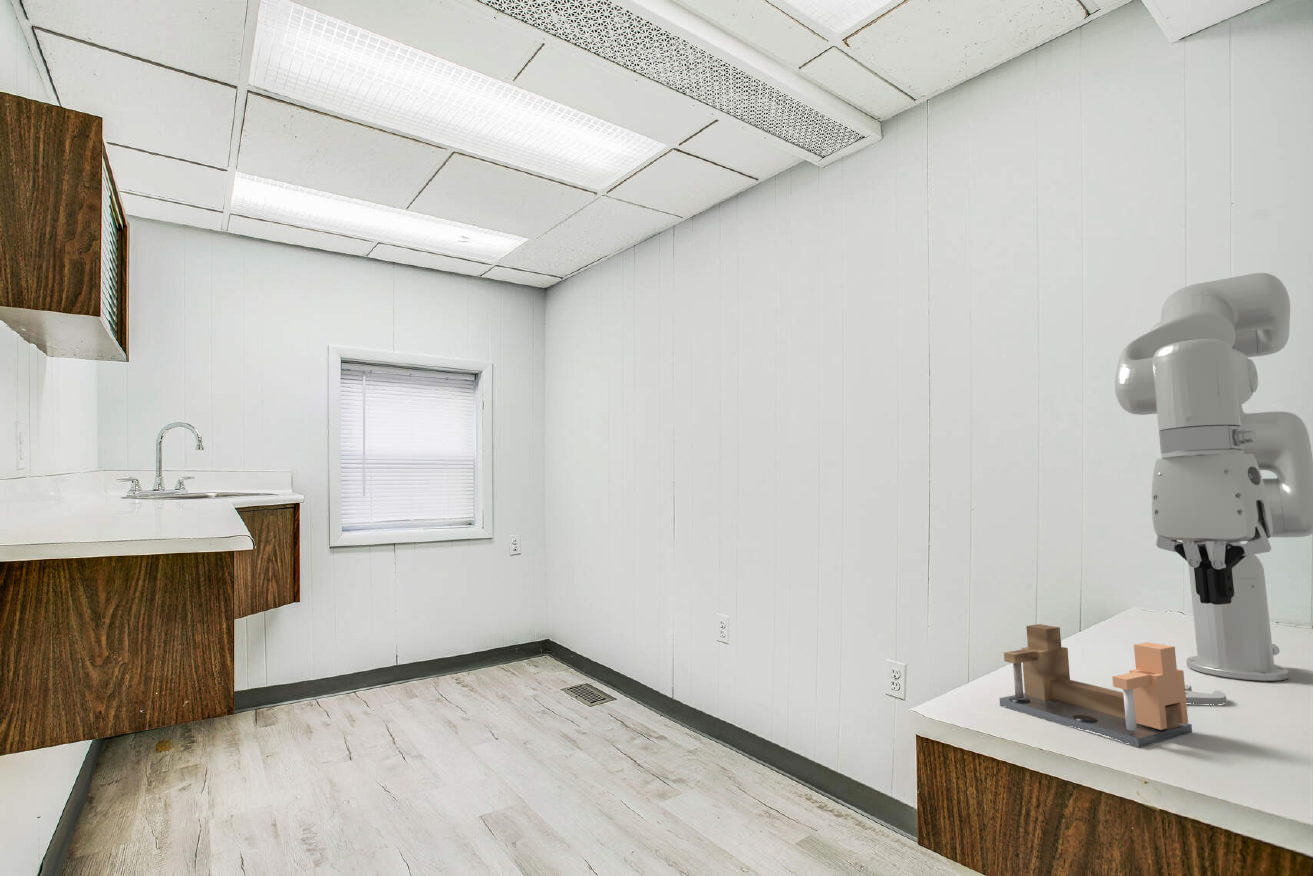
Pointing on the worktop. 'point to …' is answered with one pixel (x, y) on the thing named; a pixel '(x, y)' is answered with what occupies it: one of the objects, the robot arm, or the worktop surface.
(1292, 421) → the robot arm
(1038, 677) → the trammel bar
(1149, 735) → the flange plate
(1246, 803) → the worktop surface
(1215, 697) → the adjustable wrench
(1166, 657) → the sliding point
